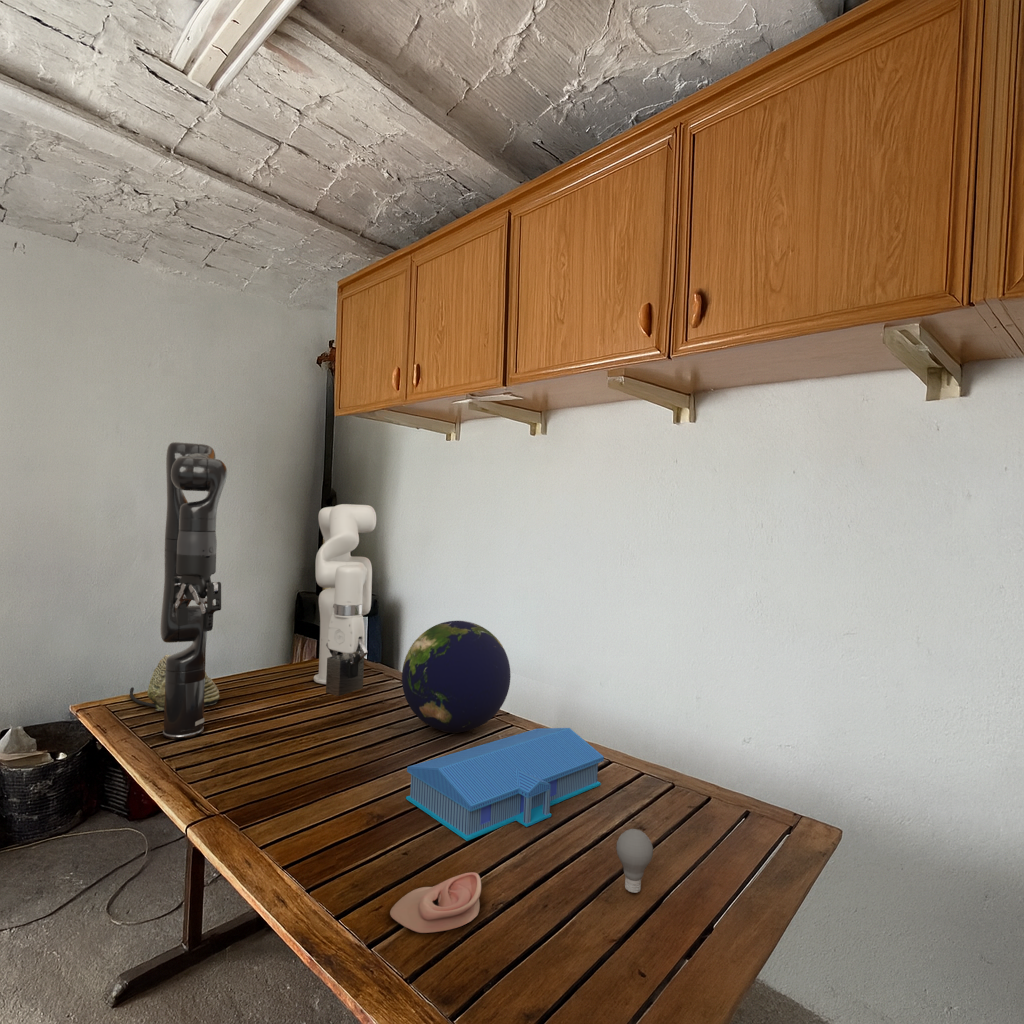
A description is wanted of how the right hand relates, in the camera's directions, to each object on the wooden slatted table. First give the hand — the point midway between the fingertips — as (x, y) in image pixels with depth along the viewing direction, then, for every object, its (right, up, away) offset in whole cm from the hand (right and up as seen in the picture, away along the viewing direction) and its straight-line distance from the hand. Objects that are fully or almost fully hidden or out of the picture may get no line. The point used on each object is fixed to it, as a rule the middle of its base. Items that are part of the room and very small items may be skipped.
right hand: (345, 674), depth 176 cm
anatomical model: (+34, -17, -77) cm, 86 cm away
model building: (+46, -17, -37) cm, 62 cm away
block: (0, -4, 0) cm, 4 cm away
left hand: (-21, +20, -41) cm, 51 cm away
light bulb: (+66, -18, -70) cm, 98 cm away
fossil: (-50, -12, +9) cm, 52 cm away
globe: (+30, -15, 0) cm, 34 cm away
